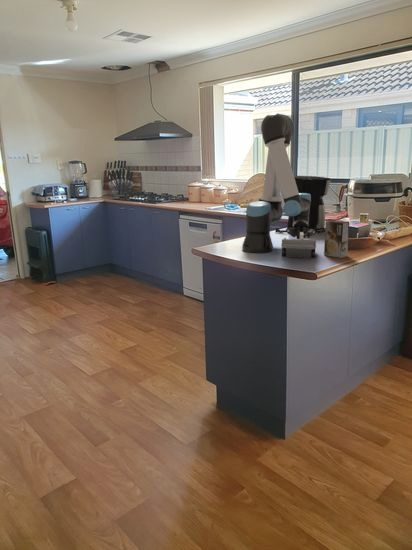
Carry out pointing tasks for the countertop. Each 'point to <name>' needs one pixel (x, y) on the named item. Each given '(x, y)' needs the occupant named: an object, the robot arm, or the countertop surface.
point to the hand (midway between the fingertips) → (301, 237)
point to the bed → (298, 250)
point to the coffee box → (336, 238)
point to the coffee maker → (312, 200)
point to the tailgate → (298, 243)
